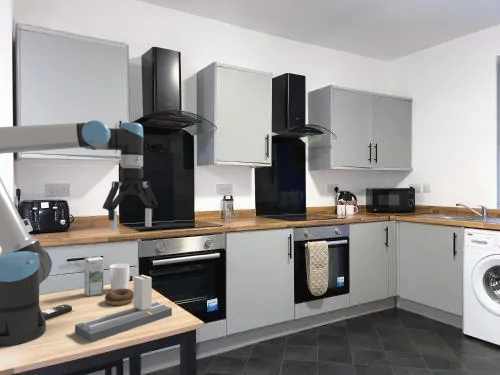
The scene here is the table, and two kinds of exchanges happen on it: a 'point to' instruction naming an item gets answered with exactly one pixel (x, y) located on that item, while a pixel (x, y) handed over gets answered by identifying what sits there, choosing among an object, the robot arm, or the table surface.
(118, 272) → the white cup
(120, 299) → the donut
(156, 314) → the slider board
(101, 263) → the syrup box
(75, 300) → the table surface
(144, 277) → the fader knob
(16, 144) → the robot arm
